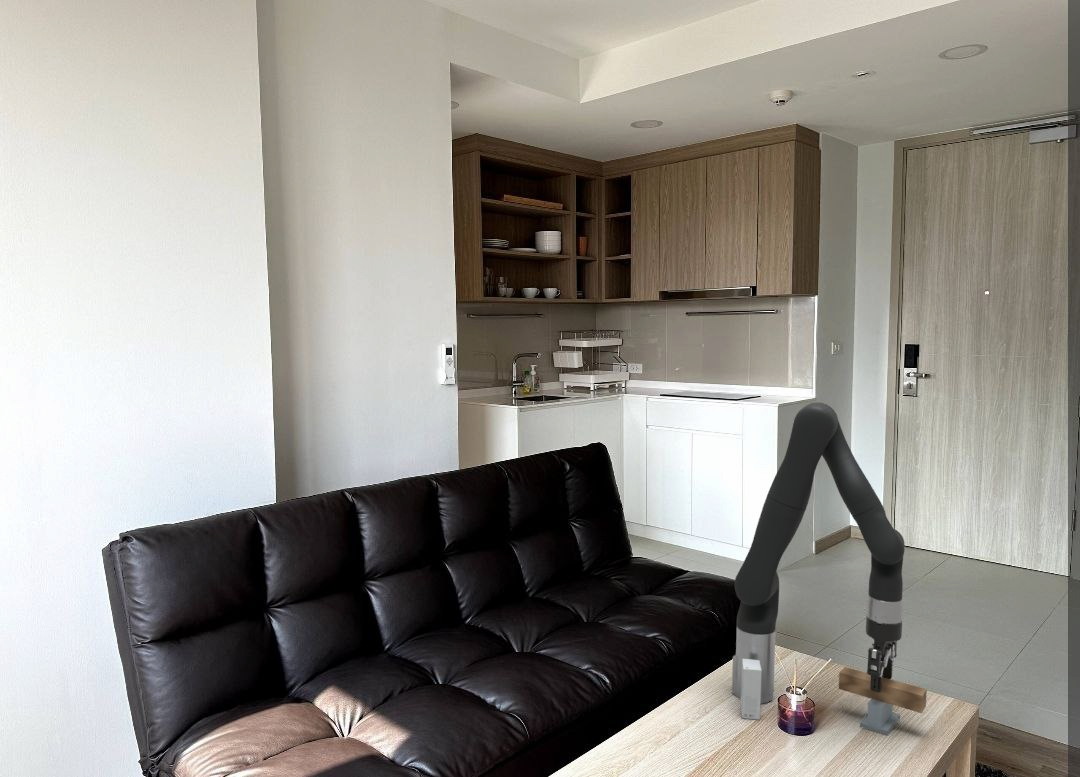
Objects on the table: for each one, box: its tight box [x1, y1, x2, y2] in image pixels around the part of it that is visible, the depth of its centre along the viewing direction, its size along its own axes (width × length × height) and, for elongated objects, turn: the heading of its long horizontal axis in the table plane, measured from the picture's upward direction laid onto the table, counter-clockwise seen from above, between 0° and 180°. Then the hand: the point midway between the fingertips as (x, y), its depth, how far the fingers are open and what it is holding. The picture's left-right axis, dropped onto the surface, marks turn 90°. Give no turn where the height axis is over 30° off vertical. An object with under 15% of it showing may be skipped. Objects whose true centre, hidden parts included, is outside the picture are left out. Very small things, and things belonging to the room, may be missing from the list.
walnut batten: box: [838, 666, 928, 714], centre depth 178 cm, size 18×4×4 cm, turn 51°
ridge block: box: [859, 698, 901, 736], centre depth 179 cm, size 6×10×6 cm, turn 141°
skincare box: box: [740, 659, 761, 721], centre depth 183 cm, size 6×4×12 cm
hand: (881, 684), depth 178 cm, fingers open, 8 cm apart
